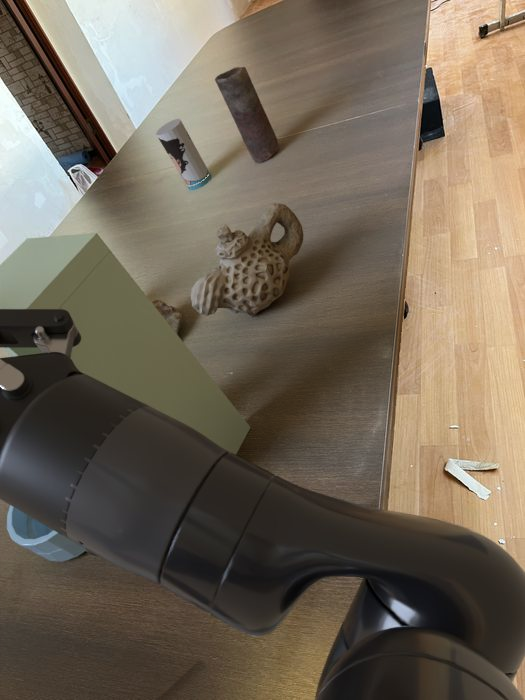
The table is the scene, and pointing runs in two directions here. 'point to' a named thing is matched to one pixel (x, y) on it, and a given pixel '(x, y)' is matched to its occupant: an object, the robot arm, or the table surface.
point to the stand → (118, 331)
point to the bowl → (40, 537)
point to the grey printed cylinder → (183, 153)
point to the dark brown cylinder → (248, 113)
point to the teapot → (250, 266)
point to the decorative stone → (168, 314)
